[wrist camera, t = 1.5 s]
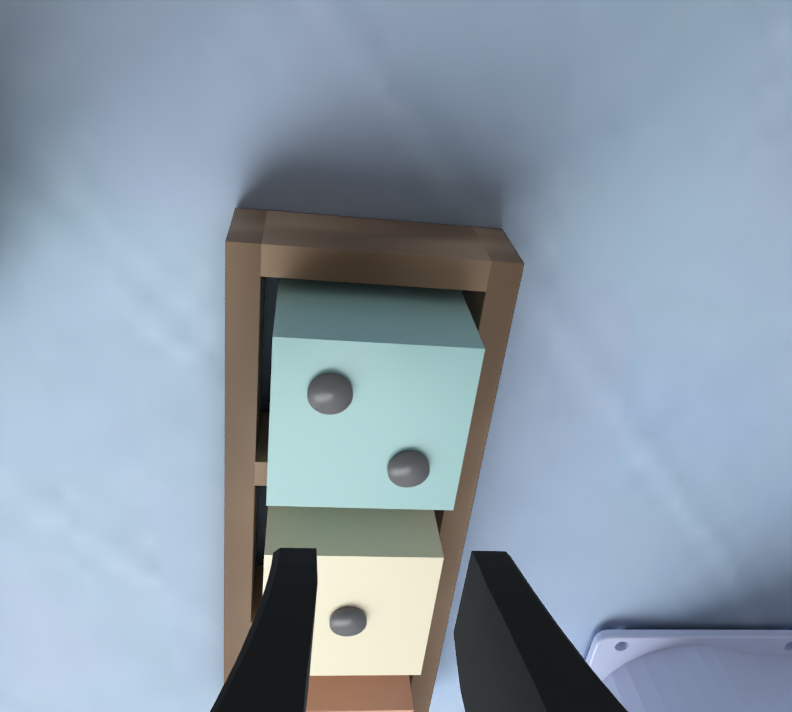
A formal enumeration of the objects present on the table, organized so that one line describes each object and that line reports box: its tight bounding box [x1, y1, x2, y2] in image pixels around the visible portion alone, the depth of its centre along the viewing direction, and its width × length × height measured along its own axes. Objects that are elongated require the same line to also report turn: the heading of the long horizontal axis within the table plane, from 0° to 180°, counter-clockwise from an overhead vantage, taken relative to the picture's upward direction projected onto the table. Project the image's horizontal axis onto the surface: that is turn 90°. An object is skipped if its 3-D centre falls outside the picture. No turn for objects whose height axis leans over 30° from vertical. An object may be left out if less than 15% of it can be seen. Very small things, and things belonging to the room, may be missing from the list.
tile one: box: [263, 506, 444, 676], centre depth 21 cm, size 5×5×3 cm
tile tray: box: [224, 208, 524, 712], centre depth 23 cm, size 7×19×2 cm, turn 173°
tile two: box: [266, 278, 485, 510], centre depth 18 cm, size 5×5×3 cm
